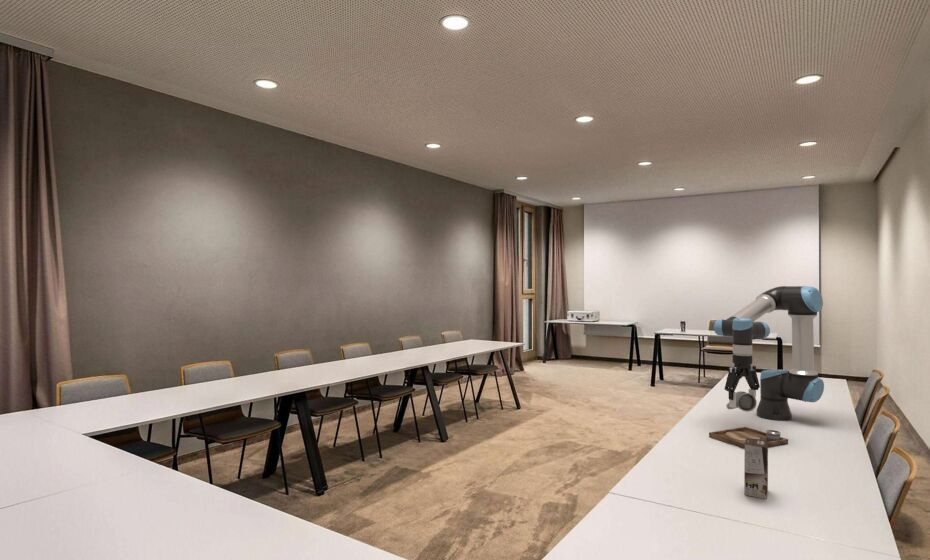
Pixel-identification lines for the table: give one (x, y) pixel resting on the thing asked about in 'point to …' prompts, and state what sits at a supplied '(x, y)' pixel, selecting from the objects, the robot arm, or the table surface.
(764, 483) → the coffee box
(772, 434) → the sugar tin
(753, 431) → the tray
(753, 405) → the ceramic mug
